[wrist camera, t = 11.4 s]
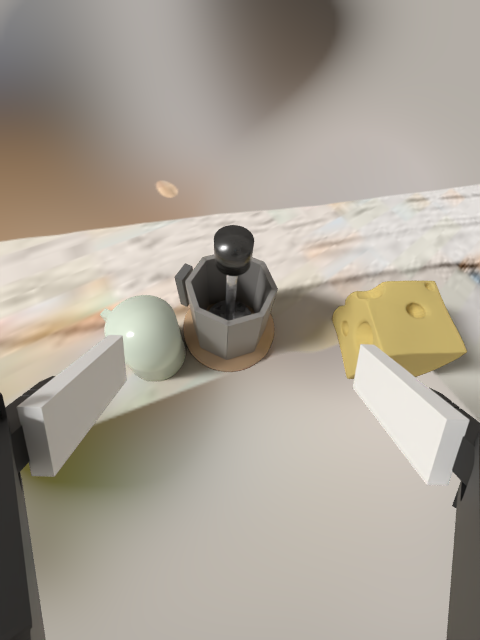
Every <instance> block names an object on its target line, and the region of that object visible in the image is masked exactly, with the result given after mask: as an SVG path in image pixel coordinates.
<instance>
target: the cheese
mask: <svg viewBox="0 0 480 640" xmlns="http://www.w3.org/2000/svg"><path fill="white" fill-rule="evenodd" d="M332 320H333V324H334V327H335V329H336V332H337V336H338V340H339V344H340V348H341V353H342V357H343V361H344V367H345V371H346V376H347V378H348V379H354V378H355V372H356V367H357V361H358V356H359V350H360V345H361V344H370V345H375V346H376V347H378V348H379V349H380V350H382V351H383V352H384V353H385V354H387V355H388V356H389V357H390V358H392V359H393V360H394V361H395V362H397V363H398V364H399V365H401V366H402V367H403V368H404V369H406V370H407V371H408V372H409V373H411V374H412V375H413V376H414V377H417V376H420V375H422V374H425V373H427V372H430V371H433V370H435V369H437V368H439V367H442V366H444V365H446V364H448V363H450V362H452V361H454V360H456V359H457V358H459V357H461V356H462V355H463V354H465V353H466V352H467V350H466V348H465V345H464V343H463V340H462V338H461V336H460V334H459V332H458V330H457V329H456V327H455V325H454V323H453V321H452V319H451V317H450V315H449V313H448V311H447V309H446V307H445V305H444V302H443V300H442V298H441V295H440V293H439V290H438V288H437V285H436V283H435V281H387V282H382V283H381V284H379V285H378V286H377V287H375V288H374V289H372V290H369V291H356V292H353V293H351V294H350V295H349V296H348V297H347V299H346V301H345V306H339V307H338V308H337V309H336V310H335V311H334V313H333V317H332Z"/></svg>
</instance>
